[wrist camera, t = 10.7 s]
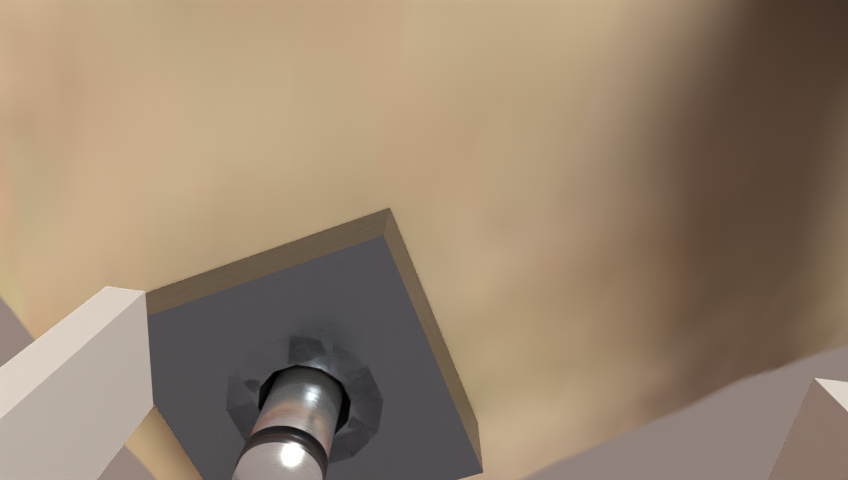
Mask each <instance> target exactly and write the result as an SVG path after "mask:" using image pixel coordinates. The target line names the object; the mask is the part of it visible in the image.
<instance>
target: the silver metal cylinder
mask: <svg viewBox="0 0 848 480" xmlns="http://www.w3.org/2000/svg"><path fill="white" fill-rule="evenodd" d="M344 390H345V388H344V386H343V384H342V382H341V381H339V380H338V379H336V378H335V377H333V376H332V375H330V374H329V373H327V372H326V371H324V370H323V369H321V368H315V367H309V366H302V365H293V366H290V367H287V368H284V369H281V370H279V372H278V374H277V376H276V379H275V381H274V383H273V385H272V388H271V390H270V392H269V394H268V397H267V399H266V401H265V404H264V406H263V408H262V410H261V413H260V415H259V417H258V419H257V422H256V424H255V426H254V429H253V431H252V433H251V435H250V437H249V439H248V440H247V441H246V443H245V445H244V447H243V449H242V451H241V453H240V456H239V458H238V460H237V463H236V466H235V472H234V474H233V477H232V480H325V478H326V474H327V469H328V457H329V453H330V449H331V445H332V441H333V436H334V432H335V428H336V424H337V420H338V416H339V411H340V407H341V403H342V399H343V395H344Z"/></svg>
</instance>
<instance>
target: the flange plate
mask: <svg viewBox="0 0 848 480" xmlns="http://www.w3.org/2000/svg"><path fill="white" fill-rule="evenodd" d="M145 296H146V310H147V324H148V338H149V352H150V366H151V381H152V395H153V402H154V404H155V405H156V407H157V408H158V410H159V411H160V413H161V414H162V416H163V417H164V419H165V421H166V422H167V424H168V425H169V427H170V428H171V430H172V431H173V433H174V434H175V436H176V438H177V439H178V441H179V442H180V444H181V445H182V447H183V448H184V450H185V451H186V453H187V455H188V456H189V458H190V459H191V461H192V462H193V464H194V465H195V467H196V468H197V470H198V472H199V473H200V475H201V476H202V478H203V479H204V480H232V477H233V474H234V472H235V466H236V463H237V460H238V458H239V456H240V453H241V451H242V449H243V447H244V445H245V443H246V441H247V440H248V439H249V437H250V435H251V433H252V431H253V429H254V426H255V424H256V422H257V419H258V417H259V415H260V413H261V410H262V408H263V406H264V404H265V401H266V399H267V397H268V394H269V392H270V390H271V388H272V385H273V383H274V381H275V379H276V376H277V374H278V372H279V370H281V369H284V368H287V367H290V366H293V365H302V366H309V367H315V368H321V369H323V370H324V371H326V372H327V373H329V374H330V375H332V376H333V377H335V378H336V379H338V380H339V381H341V382H342V384H343V386H344V388H345V390H344V395H343V399H342V403H341V407H340V411H339V416H338V420H337V424H336V428H335V432H334V436H333V441H332V445H331V449H330V453H329V457H328V469H327V474H326V478H325V480H458V479H461V478H465V477H469V476H472V475H476V474H480V473H483V466H482V457H481V448H480V439H479V430H478V422H477V420H476V418H475V415H474V413H473V410H472V408H471V405H470V403H469V400H468V398H467V395H466V393H465V391H464V388H463V386H462V383H461V381H460V378H459V376H458V373H457V371H456V369H455V366H454V364H453V361H452V359H451V356H450V354H449V351H448V349H447V346H446V344H445V342H444V339H443V337H442V334H441V332H440V329H439V327H438V324H437V322H436V319H435V317H434V315H433V312H432V310H431V307H430V305H429V302H428V300H427V297H426V295H425V293H424V290H423V288H422V285H421V283H420V280H419V278H418V275H417V273H416V270H415V268H414V266H413V263H412V261H411V258H410V256H409V253H408V251H407V248H406V246H405V244H404V241H403V239H402V236H401V234H400V231H399V229H398V226H397V224H396V221H395V219H394V217H393V214H392V212H391V209H390V208H387V209H385V210H382V211H379V212H376V213H373V214H370V215H367V216H364V217H362V218H359V219H356V220H353V221H350V222H347V223H344V224H342V225H339V226H336V227H333V228H330V229H327V230H324V231H322V232H319V233H316V234H313V235H310V236H307V237H304V238H302V239H299V240H296V241H293V242H290V243H287V244H284V245H282V246H279V247H276V248H273V249H270V250H267V251H264V252H262V253H259V254H256V255H253V256H250V257H247V258H244V259H242V260H239V261H236V262H233V263H230V264H227V265H224V266H222V267H219V268H216V269H213V270H210V271H207V272H204V273H202V274H199V275H196V276H193V277H190V278H187V279H184V280H182V281H179V282H176V283H173V284H170V285H167V286H164V287H162V288H159V289H156V290H153V291H150V292H147V293H145Z"/></svg>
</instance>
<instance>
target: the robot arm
mask: <svg viewBox="0 0 848 480" xmlns="http://www.w3.org/2000/svg"><path fill="white" fill-rule="evenodd" d="M152 407H153V395H152V381H151V366H150V352H149V338H148V324H147V310H146V296H145V291H140V290H132V289H124V288H116V287H109V286H106V287H105V288H103V289H102V290H101V291H99V292H98V293H97V294H95V295H94V296H93V297H92V298H90V299H89V300H88V301H86V302H85V303H84V304H82V305H81V306H80V307H79V308H77V309H76V310H75V311H73V312H72V313H71V314H69V315H68V316H67V317H66V318H64V319H63V320H62V321H60V322H59V323H58V324H56V325H55V326H54V327H53V328H51V329H50V330H49V331H47V332H46V333H45V334H43V335H42V336H41V337H40V338H38V339H37V340H36V341H34V342H33V343H32V344H30V345H29V346H28V347H27V348H25V349H24V350H23V351H21V352H20V353H19V354H18V355H16V356H15V357H14V358H12V359H11V360H10V361H8V362H7V363H6V364H4V365H3V366H2V367H1V368H0V480H97V478H98V477H99V476H100V475H101V473H102V472H103V471H104V469H105V468H106V467H107V466H108V464H109V463H110V462H111V460H112V459H113V458H114V456H115V455H116V454H117V453H118V451H119V450H120V449H121V447H122V446H123V445H124V444H125V442H126V441H127V440H128V438H129V437H130V436H131V435H132V433H133V432H134V431H135V429H136V428H137V427H138V426H139V424H140V423H141V422H142V420H143V419H144V418H145V417H146V415H147V414H148V413H149V411H150V410H151V409H152ZM769 480H848V382H842V381H834V380H826V379H819V378H814V379H813V381H812V383H811V386H810V388H809V390H808V392H807V395H806V397H805V399H804V401H803V404H802V406H801V408H800V410H799V412H798V415H797V417H796V419H795V421H794V424H793V426H792V428H791V430H790V433H789V435H788V437H787V440H786V442H785V444H784V446H783V448H782V451H781V453H780V455H779V458H778V459H777V462H776V464H775V466H774V469H773V471H772V473H771V475H770V477H769Z"/></svg>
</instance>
